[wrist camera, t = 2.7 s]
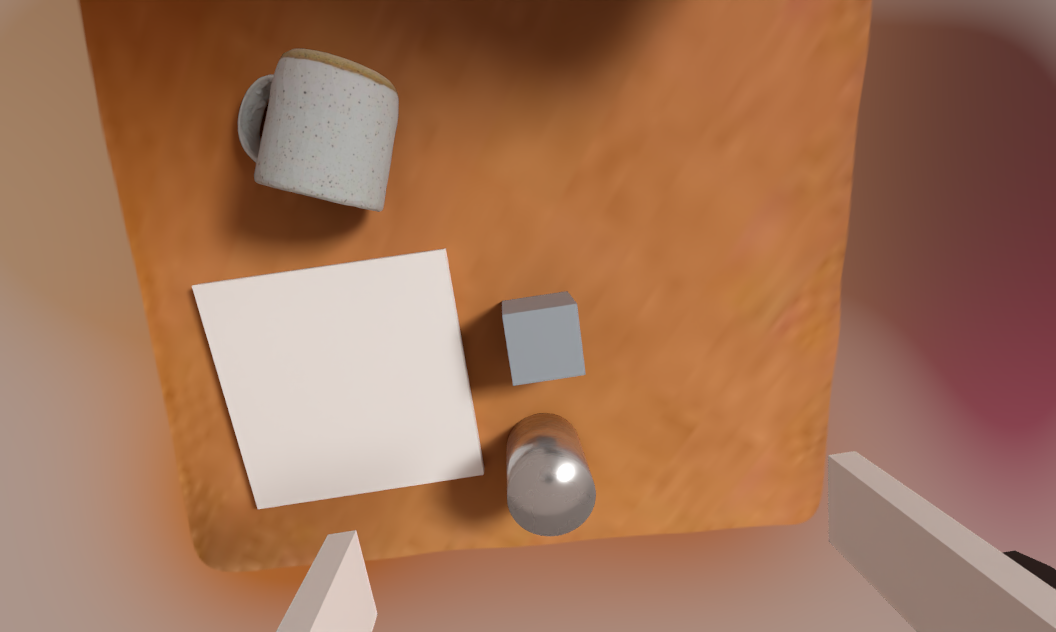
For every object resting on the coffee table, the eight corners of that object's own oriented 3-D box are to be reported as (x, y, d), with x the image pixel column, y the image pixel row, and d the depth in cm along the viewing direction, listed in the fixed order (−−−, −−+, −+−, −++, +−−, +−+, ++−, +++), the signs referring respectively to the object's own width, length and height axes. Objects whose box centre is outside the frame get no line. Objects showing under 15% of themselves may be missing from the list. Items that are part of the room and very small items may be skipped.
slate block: (567, 291, 37) (577, 303, 32) (574, 353, 38) (585, 374, 33) (501, 300, 37) (502, 314, 32) (511, 363, 38) (513, 385, 33)
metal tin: (575, 407, 39) (590, 450, 32) (583, 474, 40) (600, 528, 34) (501, 419, 39) (501, 463, 32) (512, 485, 40) (514, 542, 34)
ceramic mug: (413, 94, 34) (385, 61, 26) (394, 213, 35) (362, 214, 28) (256, 57, 33) (180, 11, 25) (244, 180, 34) (169, 172, 27)
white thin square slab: (445, 248, 36) (444, 249, 35) (484, 468, 40) (483, 474, 39) (200, 283, 36) (191, 285, 35) (263, 501, 39) (257, 509, 38)
